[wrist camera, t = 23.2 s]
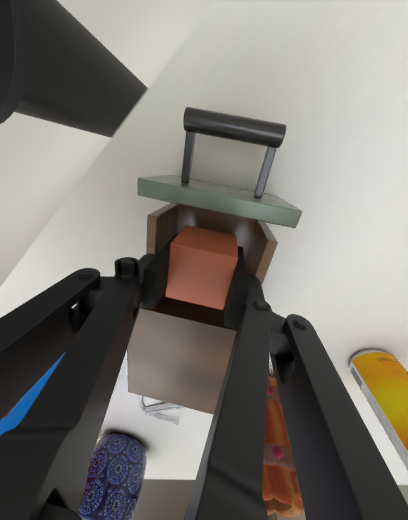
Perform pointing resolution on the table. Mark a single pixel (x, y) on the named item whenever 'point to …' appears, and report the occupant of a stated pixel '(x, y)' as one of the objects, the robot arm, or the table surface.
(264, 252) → the drawer
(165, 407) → the crossbow
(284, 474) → the mug
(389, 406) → the beer can
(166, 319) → the cabinet
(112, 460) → the planter
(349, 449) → the robot arm
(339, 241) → the table surface
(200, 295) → the block
